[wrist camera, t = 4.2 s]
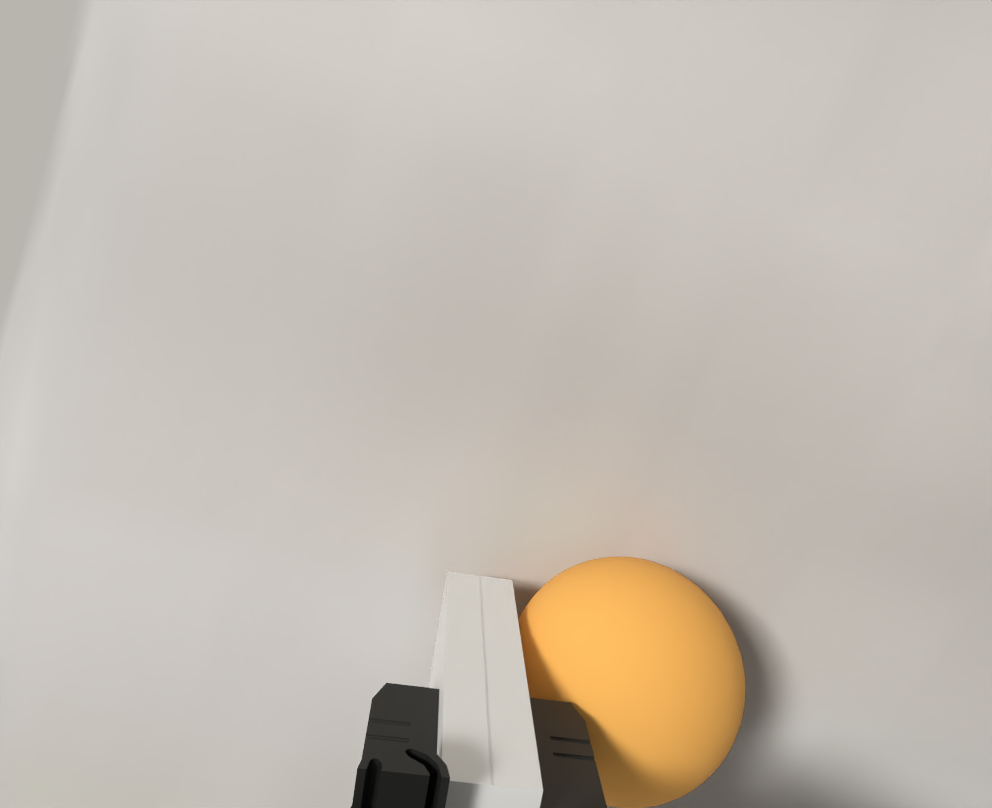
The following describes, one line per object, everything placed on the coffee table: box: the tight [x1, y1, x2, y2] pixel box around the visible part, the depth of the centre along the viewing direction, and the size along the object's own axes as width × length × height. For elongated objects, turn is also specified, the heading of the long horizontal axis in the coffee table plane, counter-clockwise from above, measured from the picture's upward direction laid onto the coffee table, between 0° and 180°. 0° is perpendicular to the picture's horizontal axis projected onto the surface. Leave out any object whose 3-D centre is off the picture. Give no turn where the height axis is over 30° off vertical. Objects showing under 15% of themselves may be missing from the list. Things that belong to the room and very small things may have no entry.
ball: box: [518, 557, 746, 808], centre depth 17 cm, size 5×5×5 cm
